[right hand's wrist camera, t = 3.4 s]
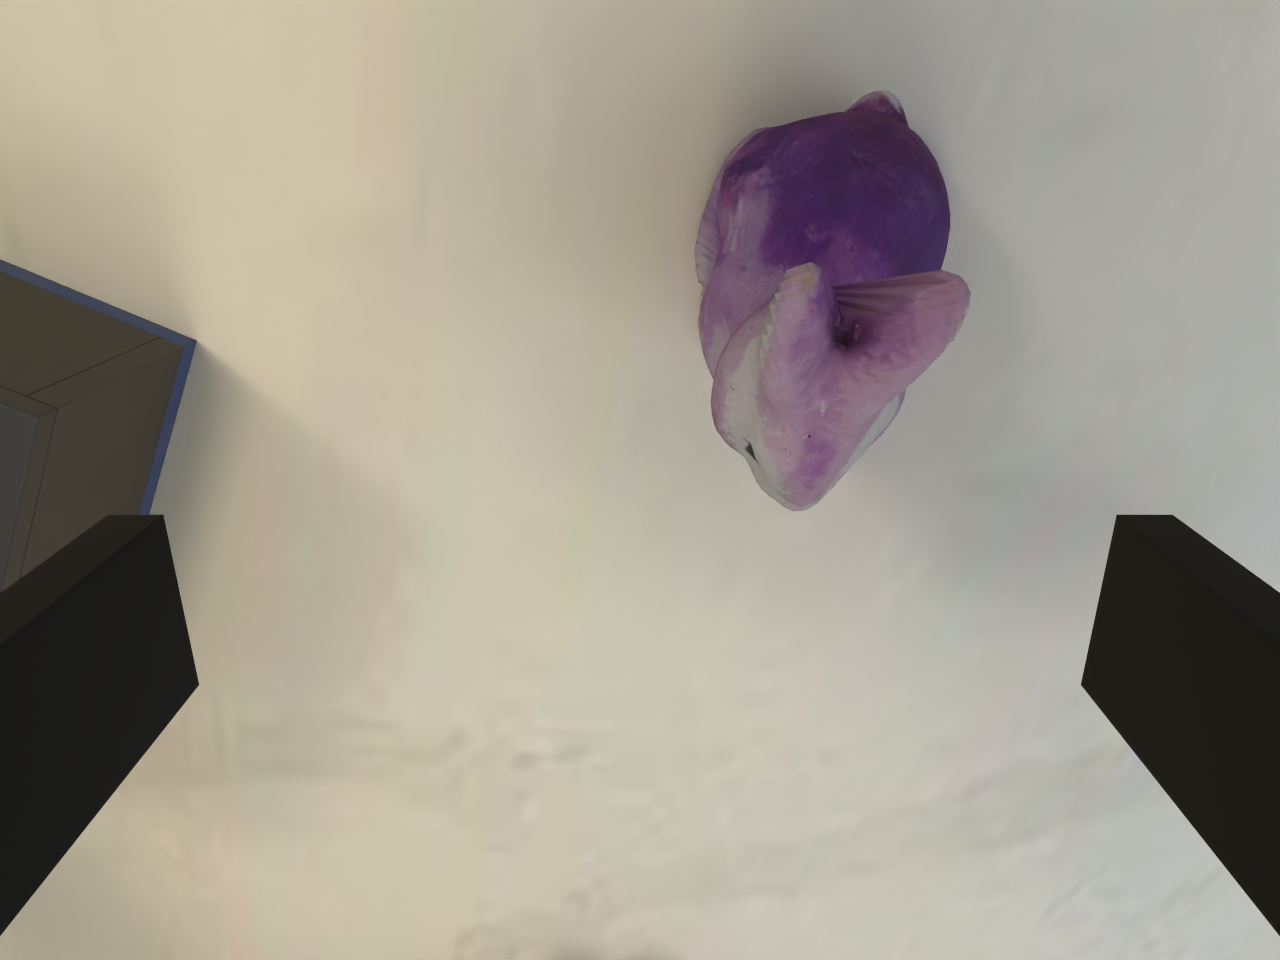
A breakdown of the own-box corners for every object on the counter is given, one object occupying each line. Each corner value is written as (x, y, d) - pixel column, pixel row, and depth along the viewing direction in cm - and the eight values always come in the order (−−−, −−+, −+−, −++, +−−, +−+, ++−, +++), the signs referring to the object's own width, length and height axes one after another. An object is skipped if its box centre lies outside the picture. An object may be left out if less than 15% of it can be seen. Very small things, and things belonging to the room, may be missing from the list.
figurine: (722, 425, 36) (773, 611, 22) (634, 175, 33) (630, 212, 19) (951, 345, 35) (1156, 489, 21) (885, 77, 32) (1078, 39, 18)
